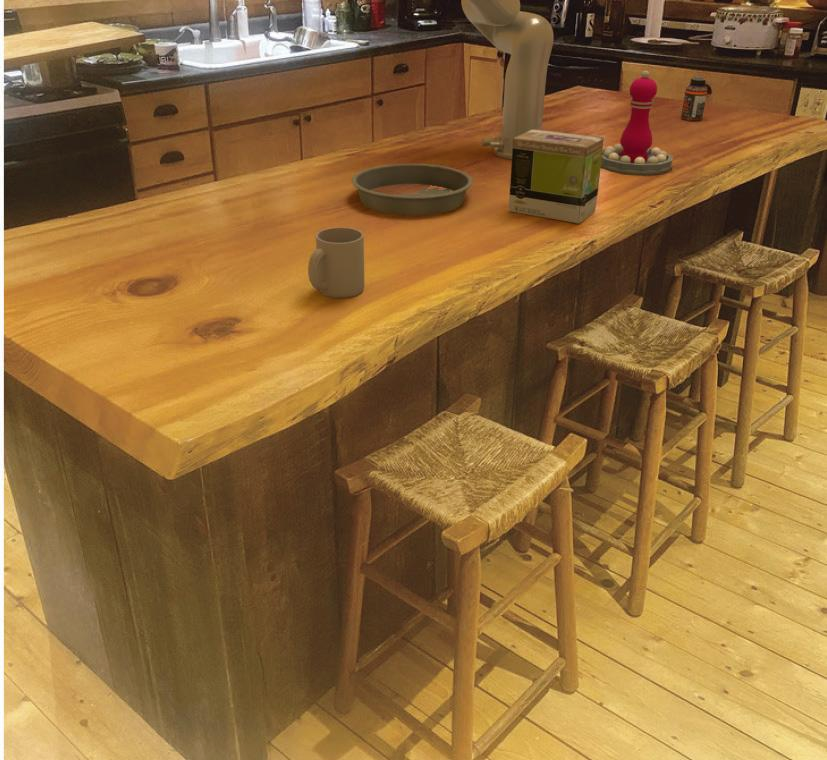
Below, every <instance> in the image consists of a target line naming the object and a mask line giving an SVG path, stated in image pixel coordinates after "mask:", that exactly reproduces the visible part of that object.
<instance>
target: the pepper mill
mask: <svg viewBox="0 0 827 760" xmlns="http://www.w3.org/2000/svg"><path fill="white" fill-rule="evenodd" d="M640 75H641V77H638V78H636V79H635V80H633V81H632V82H631V84H630V86H629V95H630V97H631V98H632V99H630V100H629V101H630V104H629V106H630V108H631V113H630V118H629V121H628V123H627V125H626V126H625V128H624V130H623V132H622V134H621V135H620V141H619V144H621V146H622V147H623V149H624V150H623V151H621V156H620V159H621V157H622V156H625V155H627V156H629V157H630V159H631V162H630V163H634V161H635V159H636V158H637V157H643V158H644V160H645V162H647V160H648V153H647V152H646V151H647V150H648V149H649V148H652V147H651V146H653V133H652V130H651V127H650V121H649V117H650V111H651V109H652V108H653V103H654V101H653V99H654V98H655V96H656V95H657V93H658V85H657V83H656V81H655V80H653V79H652V78H651V77H650V75H651V74H650V71H648V70H643V71H642V72H641V74H640Z"/></svg>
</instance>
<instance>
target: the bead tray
mask: <svg viewBox="0 0 827 760" xmlns="http://www.w3.org/2000/svg"><path fill="white" fill-rule="evenodd" d="M623 150H624V149H623V147H622V146H621V143H616V144H614V145H613V146H612V145H608V146H607V147H603V150H602V159H601V168H600V169H602V170H605V171H608V172H612V173H615V174H620V175H629V176H630V175H631V176H643V177H644V176H645V177H646V176H657V175H663V174H666V173H668V172H670V171H671V170H672V165H673V159H674V156H673V155H671V154H670V153H668V152H667V151H665V150H662V149H661V148H660V147H657V146H655V147H653V148H652V147H650V148H649V149H648V150H647V151H646V152H647V153H648V160H647V162H645V160H644V158H643V157H637V158H636V159H635V161H634V163H630V162H631V159H630V157H629V156H627V155H625V156H622V157H621V159H620V156H621V151H623ZM670 169H671V170H670ZM669 170H670V171H669ZM662 173H663V174H662Z"/></svg>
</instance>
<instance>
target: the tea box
mask: <svg viewBox="0 0 827 760" xmlns="http://www.w3.org/2000/svg"><path fill="white" fill-rule="evenodd" d="M604 139H605V138H604V137H603V136H591V135H585V134H584V135H583V134H575V133H569V132H560V131H552V130H551V131H550V130H545V129H543V130H537V129H532V130H530V131H528V132H526V133H524V134H521V135H519V136H517V137H515V138H513V147H512V159H511V164H510V165H511V166H510V167H511V168H510V181H509V197H508V198H509V199H508V200H509V201H508V211H509V212H512V213H517V214H522V215H523V214H524V215H527V216H534V217H540V218H545V219H551V220H558V221H563V222H569V223H574V224H581V222H583V221H585V220H586V219H587V218H588V217H590V216H591V215H592V214H594V213H595V212H596V207H597V203H598V193H599V185H600V175H601V169H602V168H601V159H602V150H603V149H604Z"/></svg>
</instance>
